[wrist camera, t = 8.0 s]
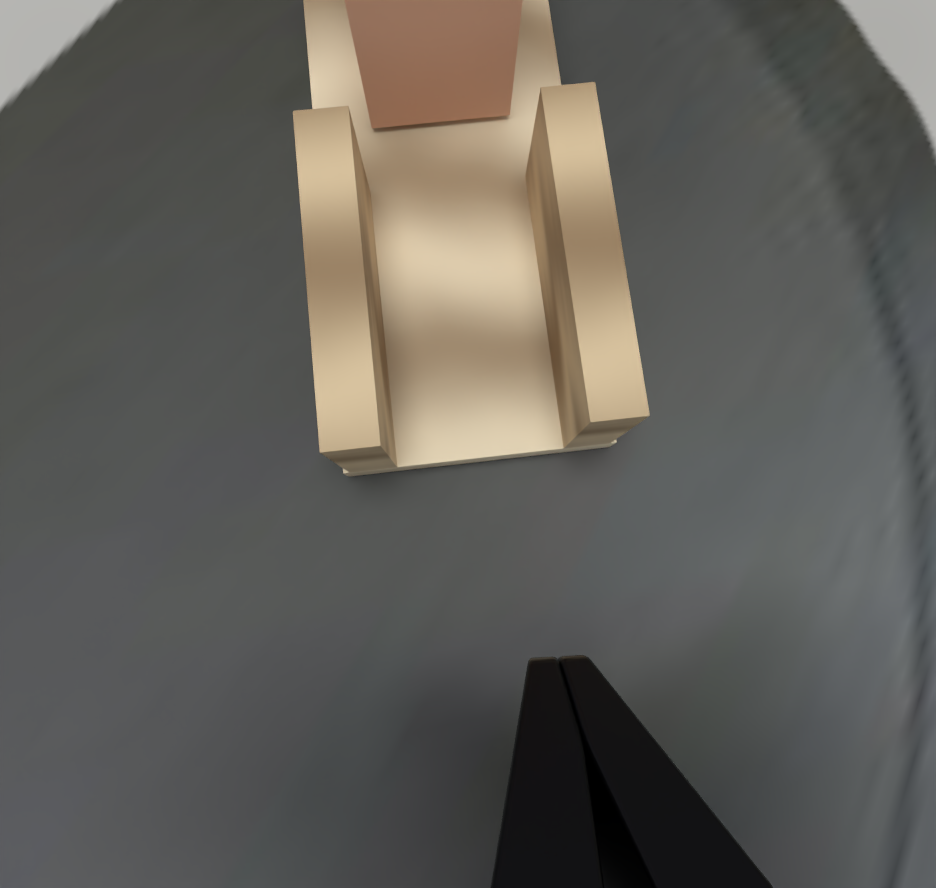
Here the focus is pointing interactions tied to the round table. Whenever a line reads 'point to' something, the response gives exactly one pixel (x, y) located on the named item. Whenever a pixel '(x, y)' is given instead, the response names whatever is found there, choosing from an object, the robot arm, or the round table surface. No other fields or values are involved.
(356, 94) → the chute
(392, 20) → the block
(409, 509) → the round table surface
